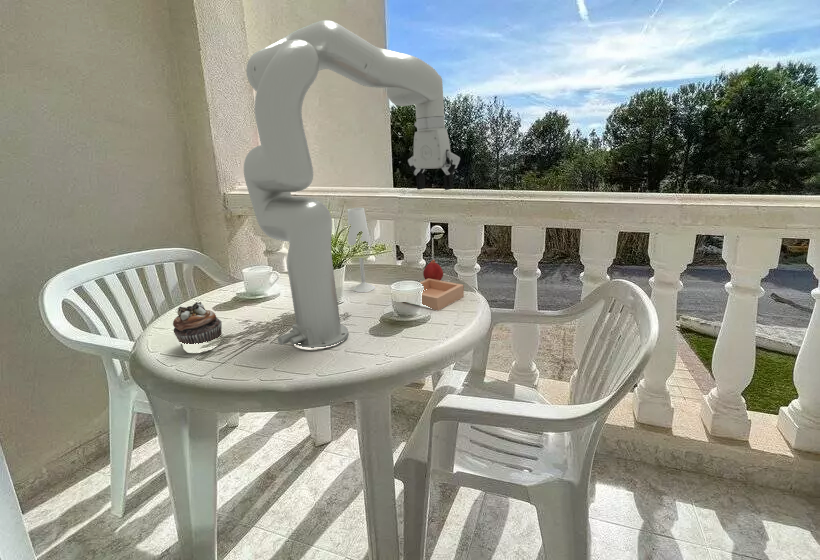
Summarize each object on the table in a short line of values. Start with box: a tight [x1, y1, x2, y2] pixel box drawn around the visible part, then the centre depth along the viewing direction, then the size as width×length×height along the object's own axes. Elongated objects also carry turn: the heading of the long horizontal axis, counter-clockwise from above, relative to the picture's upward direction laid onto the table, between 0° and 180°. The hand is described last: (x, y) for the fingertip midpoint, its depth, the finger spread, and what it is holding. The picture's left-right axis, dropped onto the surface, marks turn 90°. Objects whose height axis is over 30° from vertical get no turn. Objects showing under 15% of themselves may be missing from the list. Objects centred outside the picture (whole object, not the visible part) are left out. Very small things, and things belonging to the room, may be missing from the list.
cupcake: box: [172, 301, 223, 344], centre depth 94 cm, size 10×10×10 cm
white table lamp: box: [347, 207, 376, 293], centre depth 124 cm, size 7×7×24 cm
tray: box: [419, 278, 465, 312], centre depth 114 cm, size 12×12×3 cm
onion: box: [422, 259, 444, 281], centre depth 125 cm, size 6×6×8 cm
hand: (434, 189), depth 119 cm, fingers open, 9 cm apart
